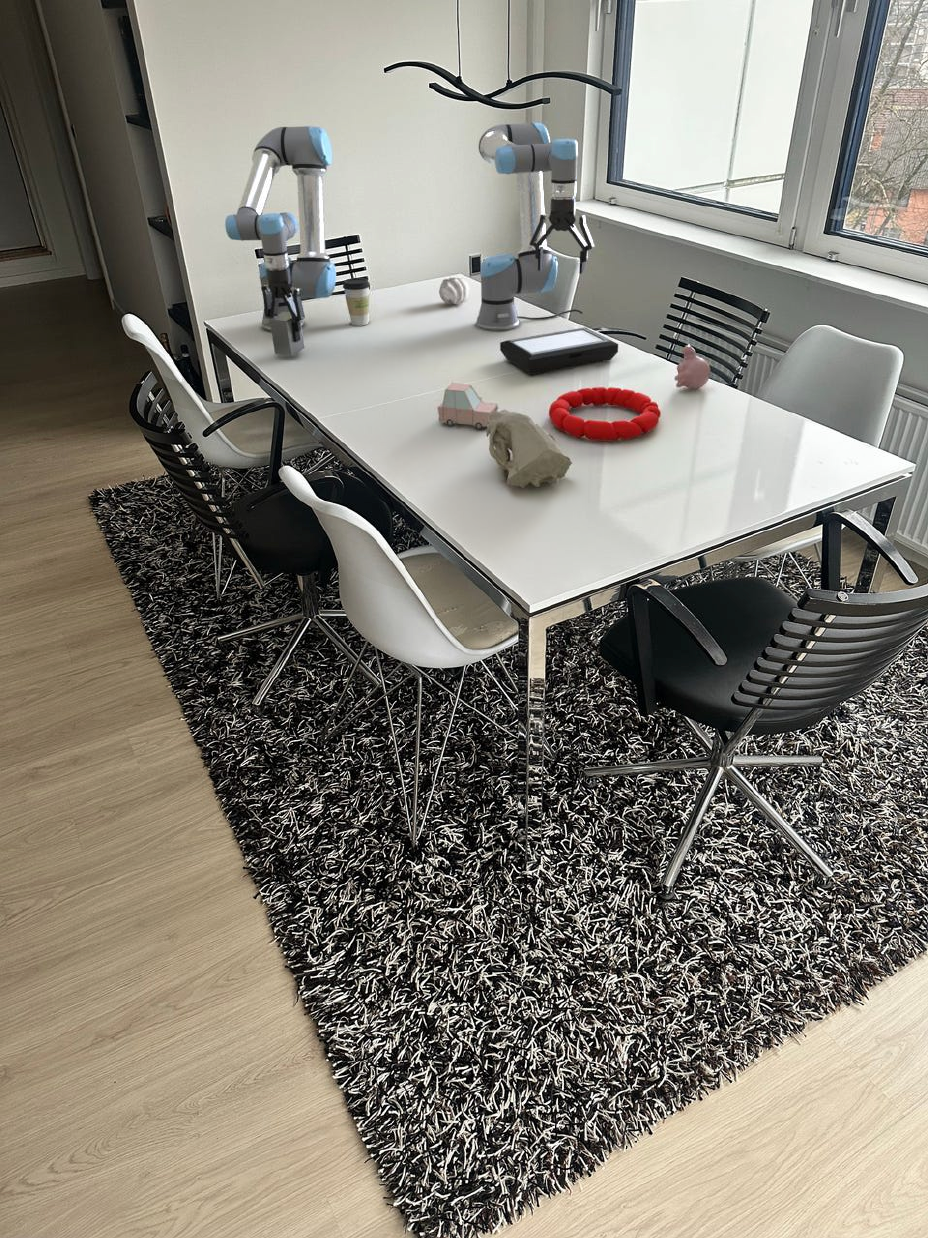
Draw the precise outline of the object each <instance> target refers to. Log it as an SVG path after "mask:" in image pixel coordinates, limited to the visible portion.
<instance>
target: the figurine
mask: <svg viewBox="0 0 928 1238" xmlns="http://www.w3.org/2000/svg"><path fill="white" fill-rule="evenodd" d="M682 354H683V358H684V359H683V361H682V362H679V363H678V364H677V365H676V372H677V375H675V376H674V381H675V382H676V381H677V382H676V384H675V386H676V388H681V387H686V388H688V389H693V390H694V389H695V390H696V389H700V388H703V387H704V386H705V385H706V384H707V383H708V382H709V379H710V377H711V367H710V364H709V362H708V361H706V359H704V358H702V357H700V356H697V353H696V350H695V349H694V347H692V345H690V344H686V345H685V346H684V347H683V348H682Z"/></svg>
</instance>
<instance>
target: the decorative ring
mask: <svg viewBox="0 0 928 1238" xmlns="http://www.w3.org/2000/svg"><path fill="white" fill-rule="evenodd" d="M583 405H584V406H586V407H587V406H591V405H593V406H604V405H608V406H614V407H619V408H624V409H628V410H632V411H635V412H636V413H638V414H639V415H637V416H635V417H632V418H631V419H630V420H625V419H624V420H623V419H622V420H614V421H611V422H609V421H607V420H606V421H605V420H593V419H587V420H586V421H585V419H584V418H582V417H579V416H577V415H573V414H571V413H570V410H571V409H579V408H581V407H582V406H583ZM548 416H549V419H550V422H551V423H552V425H553V426H554V427H555V428H556V429H558V430H559V431H561V432H563V433H567V434H568V435H569V436H573V437H576V438H580V439H582V438H583V437H585V438H586V439H587V440H591V441H601V442H602V441H603V442H608V441H609V442H610V441H611V442H612V441H615V442H616V441H618V440H630V439H634V438H638V437H641V436H642V434H647V433H650V432H651V431H653V430H654V429H655V428H656V427H657V426H658V424H659V422H660V421H659V420H660V417H661V410H660V408H659V405H658V403H657V402H656V401H652V399H651V397H649V396H648V395H646V394H644V393H642V392H635V391H634V390H632V389H628V388H624V389H622V388H620V387H613V386H612V387H611V386H610V387H608V388H606V387H604V386H594V387H585V388H584V387H583V388H580V389H578V390H571V391H568V392H565V393H563V394H561V395H560V396H558V397H557V398H556V400H554V401H552V403H551V404H550V407H549V409H548Z"/></svg>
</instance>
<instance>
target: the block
mask: <svg viewBox="0 0 928 1238" xmlns="http://www.w3.org/2000/svg"><path fill="white" fill-rule="evenodd" d="M292 321H293V319H292V316H291V314H290V312H282V313H280V314H278V315H276V316H274V317H273V318H271V319H270V325H271V337H272V338H271V339H272V344H273V349H274V350H273V351H274V355H280V356H287V357H292V356H294V355H296V354H297V353H299V352H301V351H302V350H304V349H305V348H306V347H305V341H304V340H305V339H304V334H303V333H304V332H303V327H302V326H301V331H299V332H300V339H301V340H299V341H298V342H294V336H293V329H292ZM300 325H301V321H300Z"/></svg>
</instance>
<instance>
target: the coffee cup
mask: <svg viewBox="0 0 928 1238" xmlns="http://www.w3.org/2000/svg"><path fill="white" fill-rule="evenodd" d="M370 287H371V283H370V282H369V279H367V278H365V277H351V278H347V279H345V280H344V281H343V285H342V288H343V290H344V297H345V301H346V305H347V310H348V314H349V318H350V323H351V325H353V326H357V327H359V326H365V325H368V324H369V317H370V316H369V313H370Z"/></svg>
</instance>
